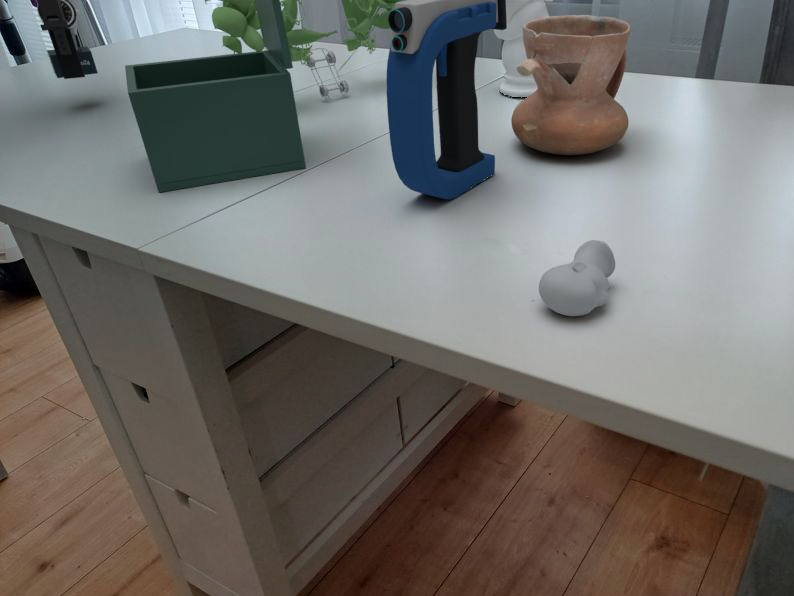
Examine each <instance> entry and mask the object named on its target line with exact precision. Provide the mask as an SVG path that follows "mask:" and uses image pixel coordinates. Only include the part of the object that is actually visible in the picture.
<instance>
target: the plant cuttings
mask: <svg viewBox="0 0 794 596" xmlns="http://www.w3.org/2000/svg"><path fill="white" fill-rule="evenodd" d="M209 1H210V0H204V3H205V4H207V2H209ZM220 1H221V2H222V6H217V7H215V8H214V9H213V11H212V13H211V21H212V24H213V27H214V30H220V31H222V32H224V33H226V34H228V35H223V36H222V46H221V47H222V48H223V47H225V48H227V49H229V50H230V51H233V54H238V53H243V45H242V42H243V43H244V44H245V45H246V46H247V47H249V48H250V49H251V50H253V51H255V52H256V51H264V49H265V50H267V49H266V48H265V46H264V42H263V37H262V34H261V33H260V32H259V31H258V30H261V28H260V24H259V19H258V15H257V10H256V5H255V1H254V0H219V2H220ZM401 1H406V0H341V3H342V4H341V5H342V7H343V12H344V15H345V18H346V20H345V21H344V28H343V29H344V35H346V37H347V38H345V39H343V40H342V42H343V44H344V45H346V48H347V51H348V52H352V54H351V55H350V56H349V57H348V58H347V60H346V61H345V62H344V63H343V64H342V66H341V67H340V68H339V69H338V70H337V69H336V62H337V58H336V54H335V53H334V52H333V50H328V49H327V48H324V47H323V48H322V47H319V48H313V44H312V43H315V42H317V41H319V40H321V39H323V38H328V37H329V36H331V35H334V34H337V33H338V30H337V29H334V30H332V31H329V32H324V33H323V32H319V31H315V30H311V29H306V26H305V25H304V26H302V27H301V28H296V29H294V27H295V25H296V26H300V24H301V22H302V21H303V20H304V19H305V17H306V10H305V7H304V5H303V2H302V1H300V0H280V4H281V7H283V8H282V14H283V19H284V24H285V30H286V35H287V40H288V45H289V50H290V55H291V60H292V63H293V62H294V63H295V62H300V64H301V65H305V66H306V67H307V68H309V69H310V71H311V73H312V75H313V77H314V80H315V81H316V84H317V86H318V88H319V94H320V96H321V97H322V98H324V99H326V100H328V101H338V100H341V99H343V98H344V97H345V95H346V94H348V92H349V90H350V88H349V84H348V82H347V81H346V80H345V79H343V80H341V78H340V75H339V72H338V71H341V69H342V68H343V67H344V66H345V65H346V64H347V63H348V61H349V60H350V59H351V58H352V57H353V55H354V53H355V52H353V51H357V50H358V49H359V48H361V46H363V47H364V48H367V49H366V51H368V52H369V55H372V54H373V52H375V51H376V49H377V46H376V45H377V44H376V34H374V35H373V36H372V37H373V38H371V35H370V34H371V33H372V32H373V30H374V29H375V27H376V28H379V29H381V30H388V29H391V28H390V26H389V23H388V15H389V13H390V11H391V10H393V9H395V3H397V2H401ZM298 4H300V5H301V7H302V9H303V16H302V18H301V19H299V20H298V19H297V18H298V14H299V13H298V11H299V9H298V8H299V7H298ZM380 9H385V11H383V12H382V13H379V11H380ZM347 24H348V26H349V27H348V26H347ZM346 29H347V32H352V34H351V36H349V35H347V32H346ZM352 37H353V38H352ZM240 39H241V40H242V41H241V40H240ZM304 45H305V47H304ZM300 46H301V47H300ZM315 50H321V52H322V53H323V55H324V58H319V59H315V58H314V57H313V56H312V55H313V54H314V53H313V51H315ZM324 50H325V51H326V52H327V54H326V53H325V51H324ZM302 61H303V62H302ZM323 61H326V62H327V64H328V65H324V66H320V67H316V63H319V62H323ZM328 67H329V69H330V72H331V74H332V77H333V79H334V80H335V83H329V84H324V83H323V80H322V79H321V76H320V74H319V71H318V70H317V69H323V68H328ZM331 67H334V69H335V74H336V75H337V78H338V80H339V81H340V82H338V81H337V79H336V77H335V76H336V75H334V72H333V70H332V68H331ZM313 70H315V71H316V74H317V76H318V78H319V80H320V82H321V84H319V82H318V80H317V78H316V75H315V73H314V71H313ZM332 85H333V86H334V85H337V87H333V88H328V86H332ZM336 90H339V91H340V94H341V97H339V98H335V99H334V98H330V96H329V92H332V91H336ZM343 93H344V94H343Z"/></svg>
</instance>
